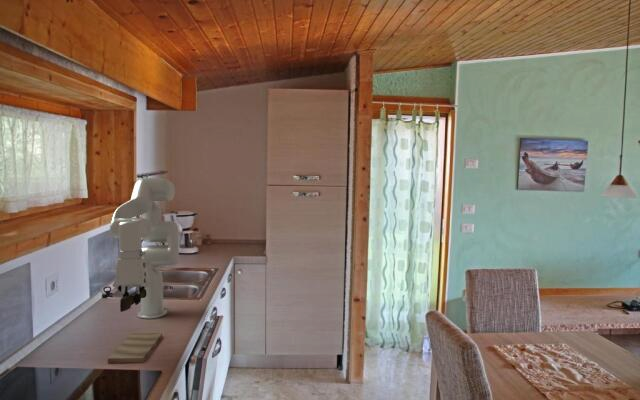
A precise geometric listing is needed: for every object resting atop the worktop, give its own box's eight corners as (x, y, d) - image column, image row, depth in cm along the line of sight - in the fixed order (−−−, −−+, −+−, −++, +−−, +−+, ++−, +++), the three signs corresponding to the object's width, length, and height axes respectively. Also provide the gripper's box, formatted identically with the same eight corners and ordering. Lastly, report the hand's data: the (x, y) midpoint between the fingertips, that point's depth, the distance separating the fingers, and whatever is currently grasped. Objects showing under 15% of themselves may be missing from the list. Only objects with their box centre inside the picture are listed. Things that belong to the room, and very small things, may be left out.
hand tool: (136, 297, 185) (136, 285, 184) (146, 297, 185) (146, 285, 184) (113, 313, 166) (112, 300, 166) (124, 313, 166) (123, 300, 165)
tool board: (131, 337, 188) (131, 333, 188) (162, 336, 189) (162, 333, 189) (107, 362, 164) (107, 358, 164) (143, 362, 165) (143, 357, 165)
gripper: (156, 252, 178) (157, 300, 179) (111, 252, 177) (113, 301, 179) (150, 256, 170) (151, 306, 172) (103, 256, 170) (105, 307, 171)
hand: (132, 303), depth 175 cm, fingers closed on hand tool, 3 cm apart
